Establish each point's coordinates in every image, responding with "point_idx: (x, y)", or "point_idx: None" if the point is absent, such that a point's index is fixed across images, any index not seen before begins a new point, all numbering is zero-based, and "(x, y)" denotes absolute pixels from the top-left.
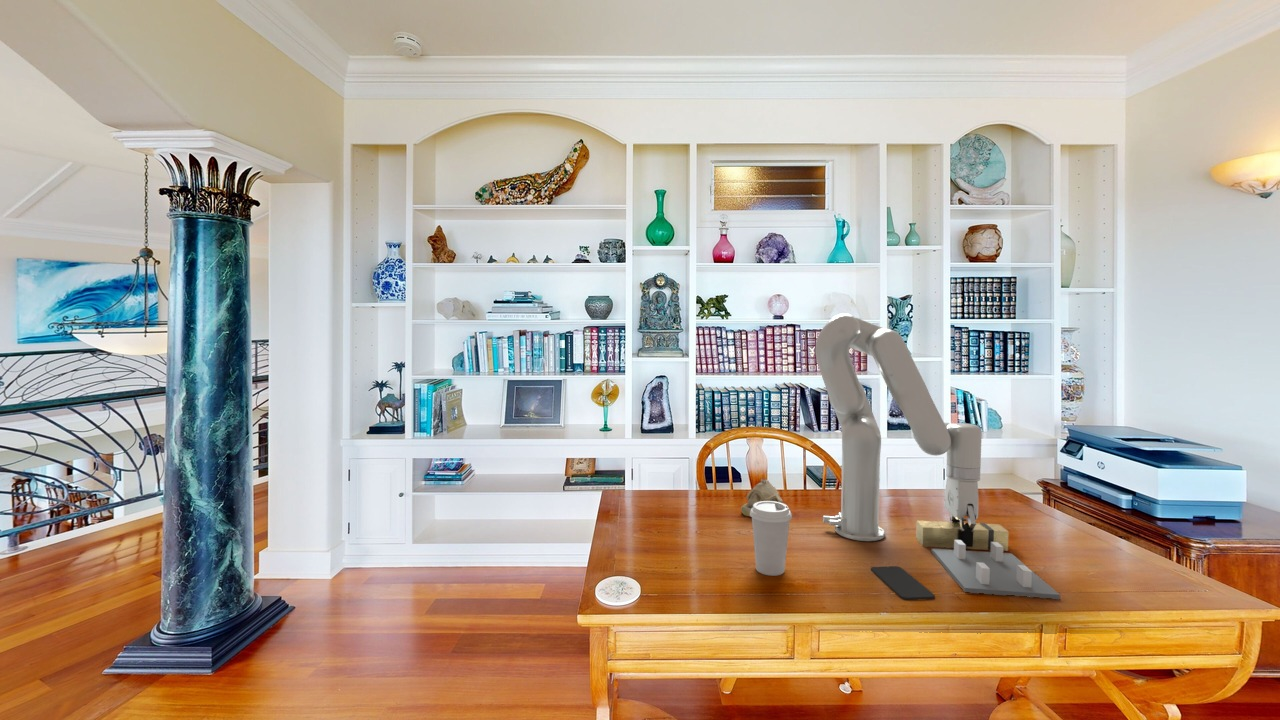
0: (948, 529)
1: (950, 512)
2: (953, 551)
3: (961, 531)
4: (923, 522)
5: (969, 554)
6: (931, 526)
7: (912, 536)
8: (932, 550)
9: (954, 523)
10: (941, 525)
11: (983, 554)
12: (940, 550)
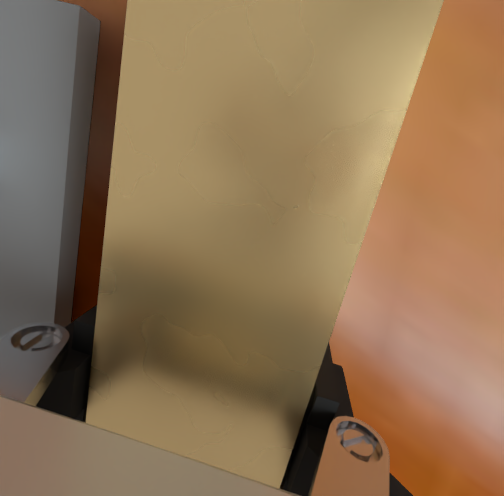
0: (112, 231)
1: (101, 460)
2: (37, 157)
3: (77, 333)
4: (355, 3)
5: (1, 235)
6: (177, 41)
7: (442, 41)
8: (66, 5)
9: (262, 403)
10: (206, 211)
11: (10, 318)
12: (44, 61)
